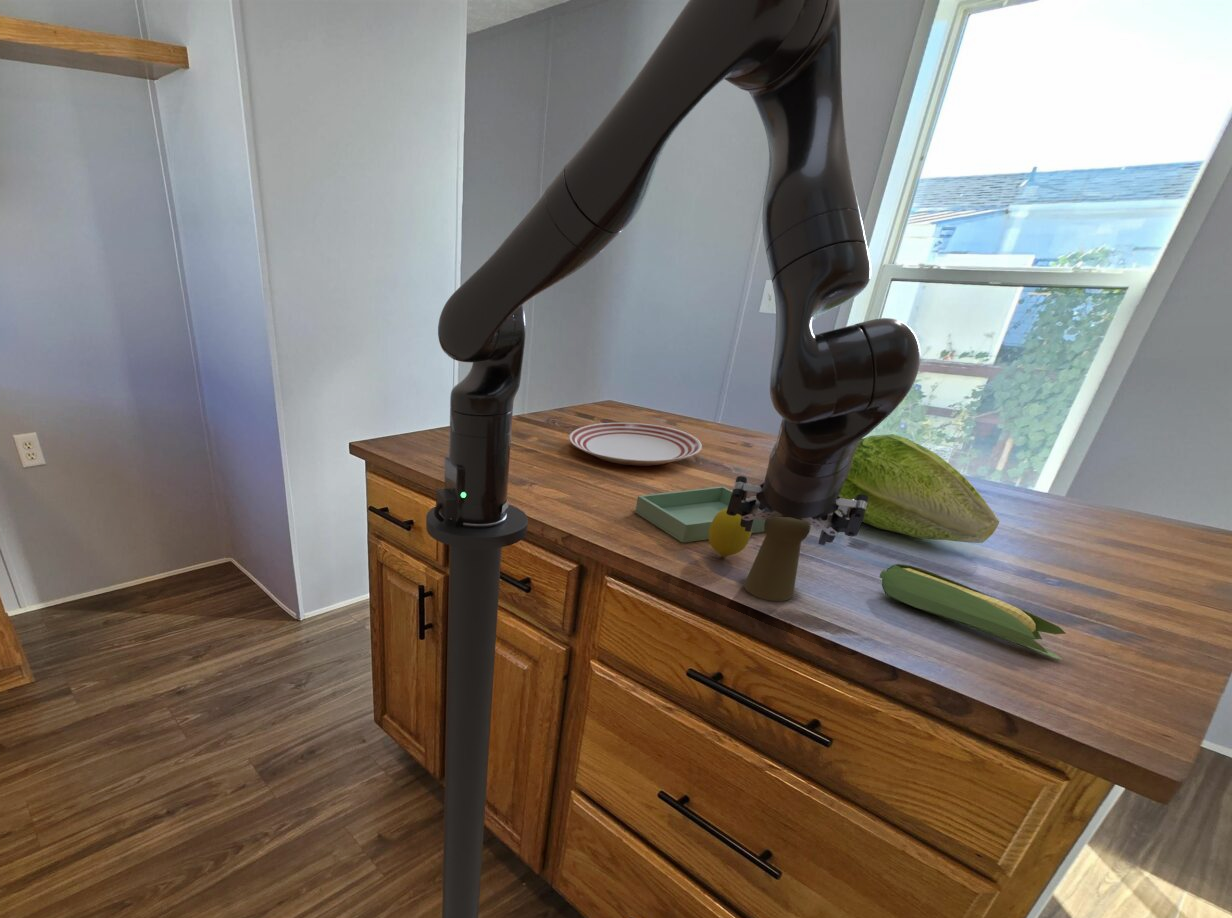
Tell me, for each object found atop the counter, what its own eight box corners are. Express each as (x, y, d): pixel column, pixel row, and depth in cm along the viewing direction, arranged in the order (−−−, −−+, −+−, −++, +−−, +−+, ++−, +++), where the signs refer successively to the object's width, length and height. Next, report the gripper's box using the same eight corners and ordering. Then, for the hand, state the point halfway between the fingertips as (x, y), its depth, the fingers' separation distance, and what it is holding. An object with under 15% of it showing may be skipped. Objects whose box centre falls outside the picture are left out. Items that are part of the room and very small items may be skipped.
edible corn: (885, 585, 89) (897, 555, 86) (1070, 656, 74) (1090, 621, 72) (865, 595, 86) (877, 564, 84) (1053, 670, 71) (1073, 635, 69)
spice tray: (682, 543, 101) (686, 524, 99) (635, 512, 112) (637, 495, 110) (773, 530, 105) (778, 512, 104) (719, 502, 116) (723, 486, 115)
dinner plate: (684, 482, 125) (687, 465, 124) (549, 459, 137) (550, 444, 136) (709, 447, 146) (712, 432, 144) (590, 430, 158) (592, 416, 156)
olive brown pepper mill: (767, 576, 91) (788, 501, 85) (803, 596, 86) (829, 518, 80) (733, 584, 89) (753, 508, 83) (769, 604, 84) (793, 525, 78)
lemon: (707, 563, 94) (719, 511, 90) (700, 547, 99) (712, 497, 95) (748, 566, 93) (762, 514, 90) (739, 550, 98) (752, 500, 94)
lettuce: (968, 529, 89) (1047, 465, 90) (810, 458, 105) (878, 405, 106) (946, 592, 99) (1017, 533, 100) (805, 518, 116) (867, 469, 117)
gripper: (726, 489, 71) (718, 546, 86) (877, 513, 65) (842, 570, 80) (743, 429, 73) (733, 496, 87) (893, 447, 67) (855, 515, 81)
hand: (785, 531), depth 84 cm, fingers open, 8 cm apart
